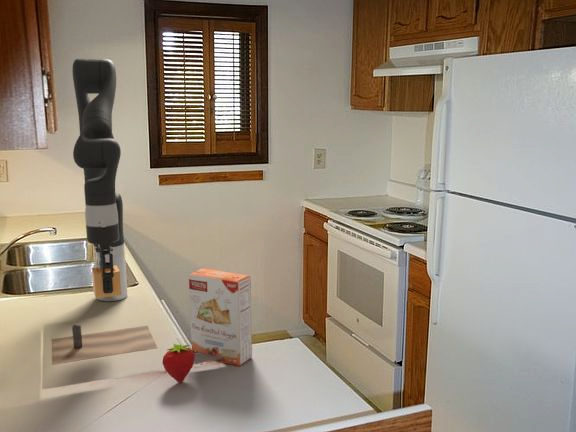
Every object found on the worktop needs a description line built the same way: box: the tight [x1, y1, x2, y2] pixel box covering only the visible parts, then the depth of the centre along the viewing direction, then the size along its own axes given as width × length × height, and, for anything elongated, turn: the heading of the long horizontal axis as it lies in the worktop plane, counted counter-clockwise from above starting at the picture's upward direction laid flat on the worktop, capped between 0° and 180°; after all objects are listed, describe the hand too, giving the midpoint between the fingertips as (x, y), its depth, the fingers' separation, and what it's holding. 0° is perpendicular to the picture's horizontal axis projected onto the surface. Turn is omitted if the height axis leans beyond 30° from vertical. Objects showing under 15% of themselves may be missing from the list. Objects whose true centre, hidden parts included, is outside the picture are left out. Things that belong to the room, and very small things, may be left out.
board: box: [51, 323, 158, 365], centre depth 148 cm, size 16×24×8 cm, turn 112°
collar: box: [91, 265, 121, 299], centre depth 146 cm, size 6×6×6 cm
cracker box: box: [188, 267, 253, 367], centre depth 141 cm, size 14×6×21 cm, turn 62°
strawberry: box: [162, 339, 196, 383], centre depth 130 cm, size 6×8×10 cm
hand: (106, 288), depth 146 cm, fingers closed on collar, 6 cm apart
